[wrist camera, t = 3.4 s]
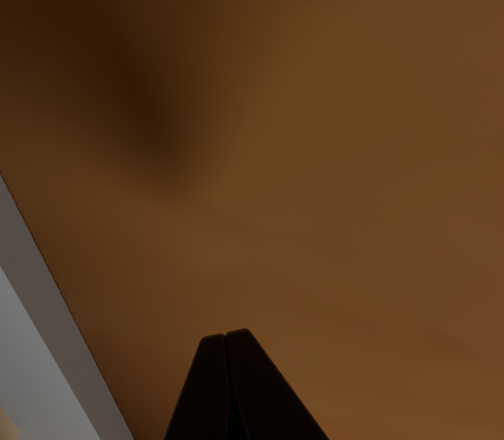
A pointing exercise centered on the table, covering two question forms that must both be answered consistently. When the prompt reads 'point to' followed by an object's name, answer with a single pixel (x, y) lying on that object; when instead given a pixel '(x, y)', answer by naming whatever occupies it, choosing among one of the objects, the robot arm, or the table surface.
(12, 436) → the maple block
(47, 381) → the board
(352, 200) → the table surface
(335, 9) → the table surface
